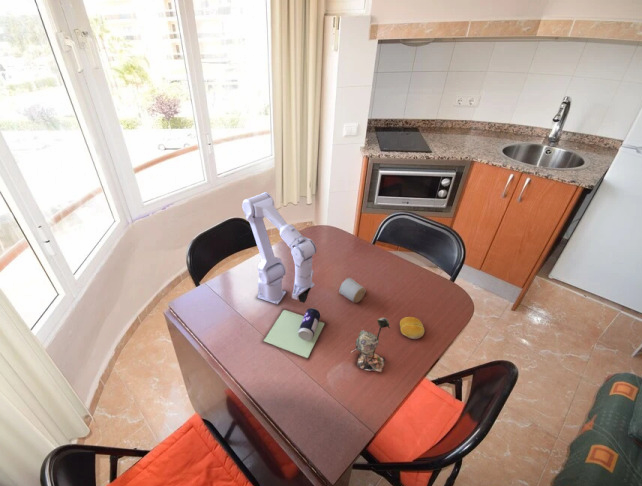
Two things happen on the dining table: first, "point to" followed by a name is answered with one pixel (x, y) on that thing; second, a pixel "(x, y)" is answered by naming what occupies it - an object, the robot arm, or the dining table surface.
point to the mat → (291, 334)
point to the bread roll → (411, 327)
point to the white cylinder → (352, 290)
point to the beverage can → (309, 324)
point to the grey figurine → (370, 348)
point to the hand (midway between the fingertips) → (302, 301)
